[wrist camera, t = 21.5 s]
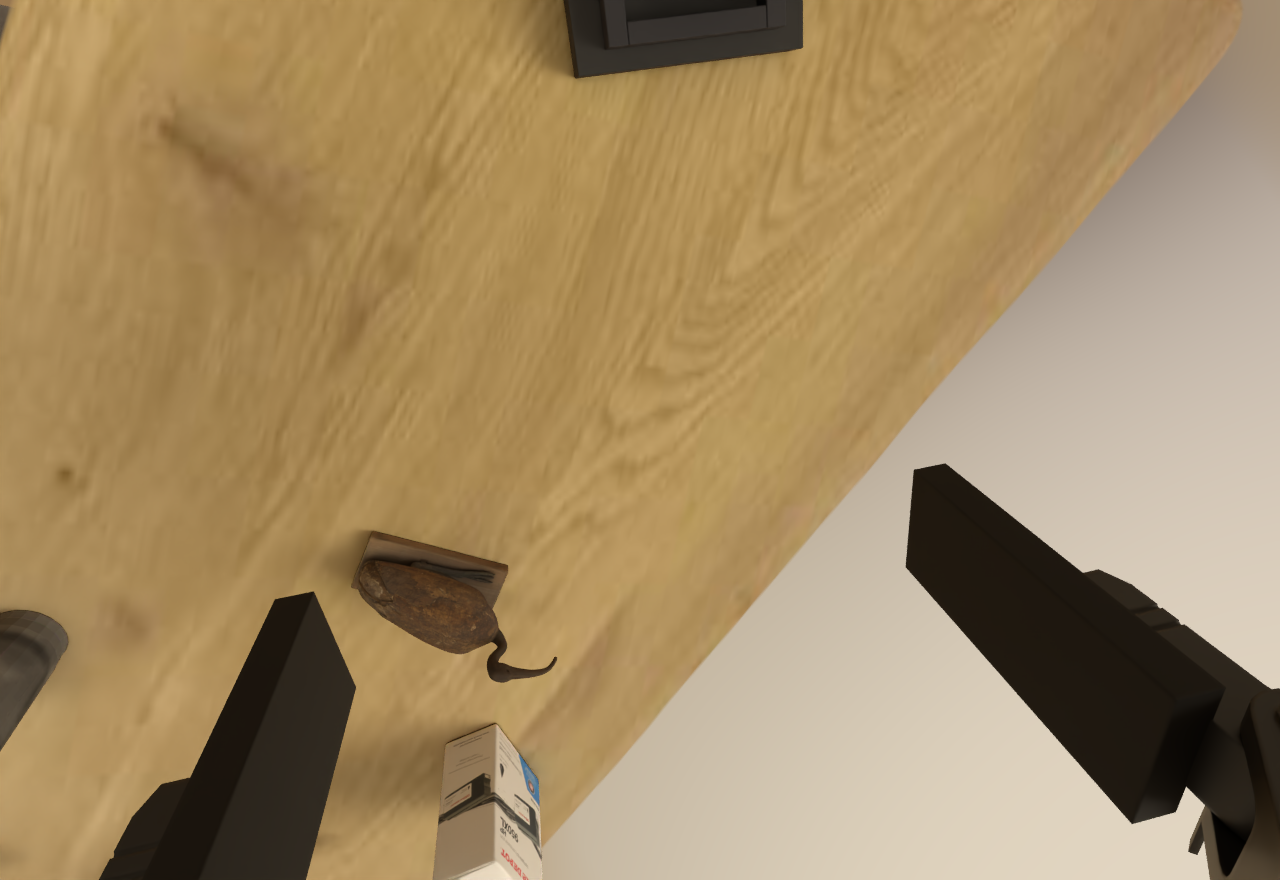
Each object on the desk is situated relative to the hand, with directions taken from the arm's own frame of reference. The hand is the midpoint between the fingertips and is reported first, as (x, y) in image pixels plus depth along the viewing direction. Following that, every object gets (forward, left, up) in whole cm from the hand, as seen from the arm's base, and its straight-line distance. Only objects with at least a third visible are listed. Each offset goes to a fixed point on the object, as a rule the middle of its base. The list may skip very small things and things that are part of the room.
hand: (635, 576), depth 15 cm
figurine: (+5, -22, -29) cm, 37 cm away
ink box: (+16, -38, -29) cm, 50 cm away
